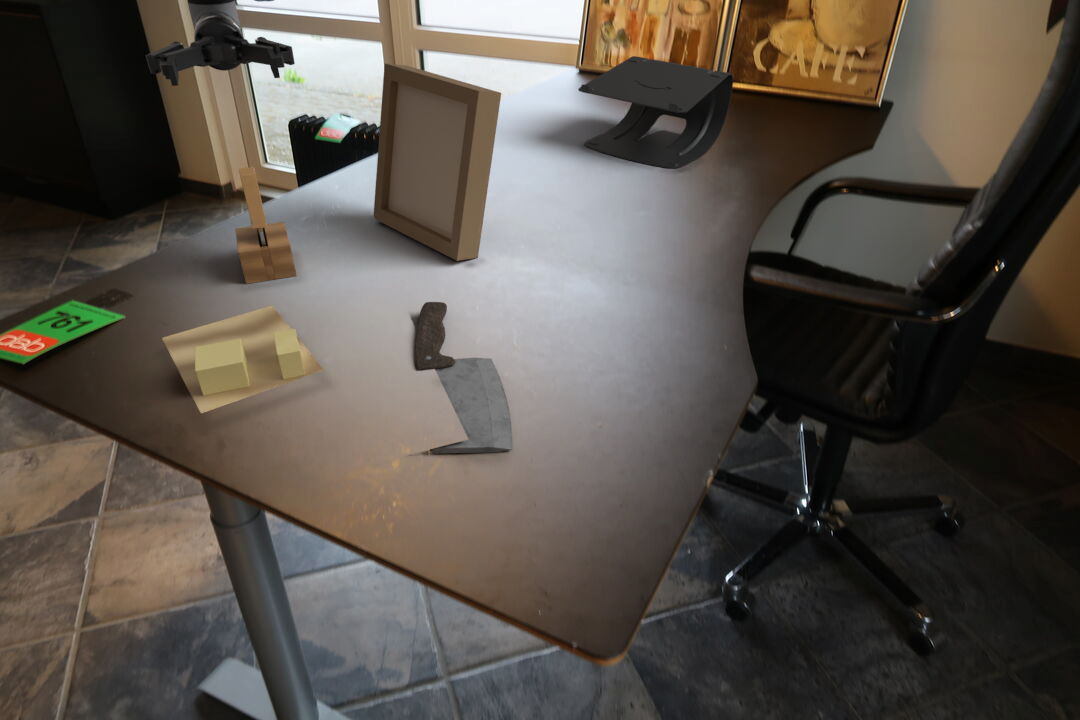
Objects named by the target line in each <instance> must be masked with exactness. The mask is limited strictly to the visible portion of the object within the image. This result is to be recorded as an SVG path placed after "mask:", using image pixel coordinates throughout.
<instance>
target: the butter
mask: <svg viewBox="0 0 1080 720" xmlns="http://www.w3.org/2000/svg"><path fill="white" fill-rule="evenodd" d="M195 372H196V375H197V378H198V381H199V384H200V387H201V390H202V393H203V396H206V395H210V394H215V393H220V392H225V391H230V390H235V389H240V388H244V387H249V386H250V383H249V374H248V365H247V360H246V356H245V353H244V349H243V346H242V342H241V339H236V340H230V341H225V342H220V343H214V344H209V345H203V346H198V347H195Z"/></svg>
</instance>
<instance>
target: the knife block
mask: <svg viewBox="0 0 1080 720" xmlns="http://www.w3.org/2000/svg"><path fill="white" fill-rule="evenodd" d="M234 230H235V238H236V247H237V253H238V258H239V262H240V266H241V269H242V274H243V277H244V280H245V284H246V285H248V284H249V285H250V284H254V283H261V282H267V281H274V280H279V279H285V278H291V277H297V271H296V267H295V261H294V257H293V252H292V247H291V243H290V239H289V235H288V231H287V227H286V224H285V221H279V222H273V223H272V222H271V223H267V227H264V228H263V232H264V237H265V241H266V245H267V246H264V247H262V242H261V238H260V234H259V229H258V228H257V229H253V227H252V225H250V226H244V227H237V228H236V227H235V228H234Z"/></svg>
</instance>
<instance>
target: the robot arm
mask: <svg viewBox="0 0 1080 720" xmlns="http://www.w3.org/2000/svg"><path fill="white" fill-rule="evenodd" d="M254 1H255V2H258V3H259V2H274V1H275V0H254ZM186 2H187V7H188V11H189V13H190V18H191V22H192V26H193V31H194V32H193V33H194V35H193V38H194V40H193V41H192V42H190V44H189V46H184V43H181V41H175V40H174V41H172V42H171V44H170V45H167V46H165V47H162V48H159V49H157V50H155V51H153V52H151V53H148V54H146V55H145V58H146V62H147V66H148V68H149V71H150V74H151V75H158V74H160V73H161V75H162V76H163V77H164V78H165V80H170V83H171V87H178V86H179V72H180V71H183V70H187V69H190V68H193V67H200V68H201V67H202V68H206V67H211V69H214V70H217V71H223V72H224V71H231V70H235V69H236V68H238V67H239V66H240V65H241V64H242V65H248V64H251V63H255V64H261V65H266V66H269V67H270V70H271V73H272V75H273V78H274V79H280V78H281V76H280V71H279V68H280V69H282V68H284V69H285V65H289V66H293V65H295V64H296V62H295V57H294V52H293V47H292V46H291V45H289V44H288V45H287V44H284V43H280V42H278V41H277V42H276V41H274V40H269V39H267V38H266V37H265V36H258V37H257V38H256V39H254V42H252V43H251V42H250V41H248V39H246V38H244V35H243V32H242V27H241V22H240V19H239V14H238V9H237V5H236V0H187V1H186Z"/></svg>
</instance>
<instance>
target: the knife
mask: <svg viewBox="0 0 1080 720" xmlns="http://www.w3.org/2000/svg"><path fill="white" fill-rule="evenodd" d="M238 171H239V177H240V182H241V185H242V190H243V194H244V199H245V202H246V206H247V210H248V215H249V219H250V223H251V226H252V227H253V229H257V228H258V229H259V234H260V238H261V242H262V247H264V246H267V245H266V241H265V237H264V232H263V228H264V227H267V224H268V223H267V218H266V215H265V209H264V205H263V200H262V196H261V191H260V188H259V182H258V179H257V175H256V170H255V167H254V166H249V167H239V168H238Z"/></svg>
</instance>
